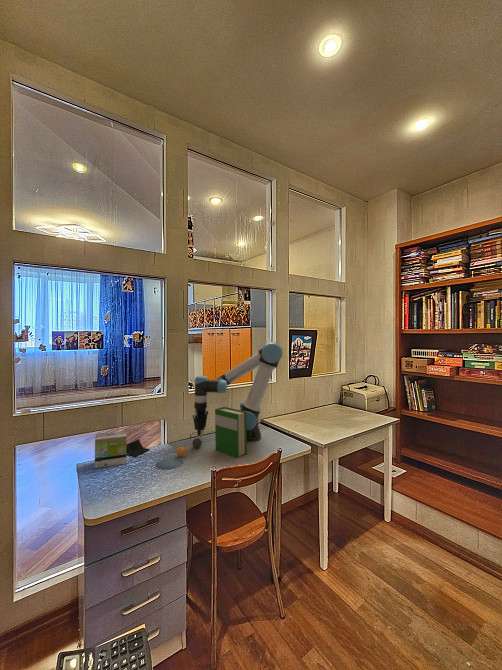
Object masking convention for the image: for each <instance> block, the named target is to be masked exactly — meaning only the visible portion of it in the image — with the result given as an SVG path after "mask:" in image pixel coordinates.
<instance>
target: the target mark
mask: <svg viewBox="0 0 502 670" xmlns="http://www.w3.org/2000/svg"><path fill="white" fill-rule="evenodd" d="M183 464H184V460H183V459H182V458H181V457H180V458H179V457H166V458H162V459H160V460H158V461H156V463H155V467H156V468H157V469H159V470H174V469H176V468H179V467H181V466H183Z"/></svg>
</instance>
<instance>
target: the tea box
mask: <svg viewBox="0 0 502 670" xmlns="http://www.w3.org/2000/svg"><path fill="white" fill-rule="evenodd" d="M126 444H127V430H126V431H124V430H123V431H115V432H107V433H98V434H96V435H95V439H94V468H95V469H99V468H105V467H112V466H118V465H126V464H127V451H126Z"/></svg>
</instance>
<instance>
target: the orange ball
mask: <svg viewBox="0 0 502 670" xmlns="http://www.w3.org/2000/svg"><path fill="white" fill-rule="evenodd" d="M187 453H188V449H187V448H186V447H185V446H184V445H181V446H179V447H178V448H177V450H176V454H177V456H178V457H180V458H182V457H185V456H186V455H187Z"/></svg>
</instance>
